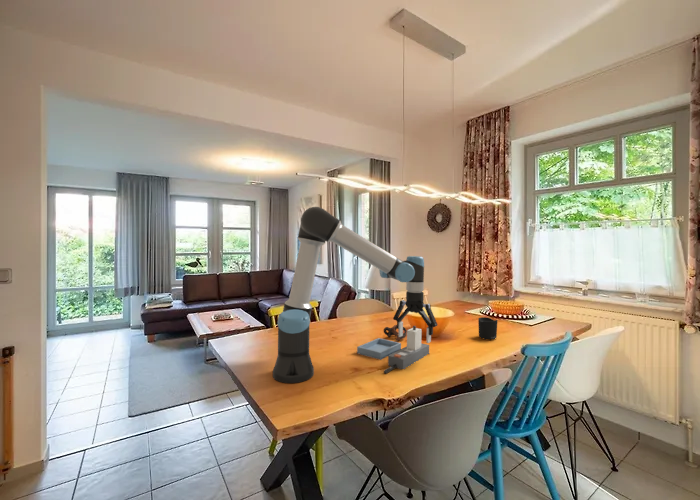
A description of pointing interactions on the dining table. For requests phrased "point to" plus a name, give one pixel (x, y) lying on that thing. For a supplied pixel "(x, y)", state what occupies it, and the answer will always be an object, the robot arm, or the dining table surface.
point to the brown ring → (394, 332)
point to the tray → (378, 348)
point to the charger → (414, 338)
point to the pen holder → (487, 328)
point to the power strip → (406, 357)
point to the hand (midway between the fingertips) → (414, 339)
